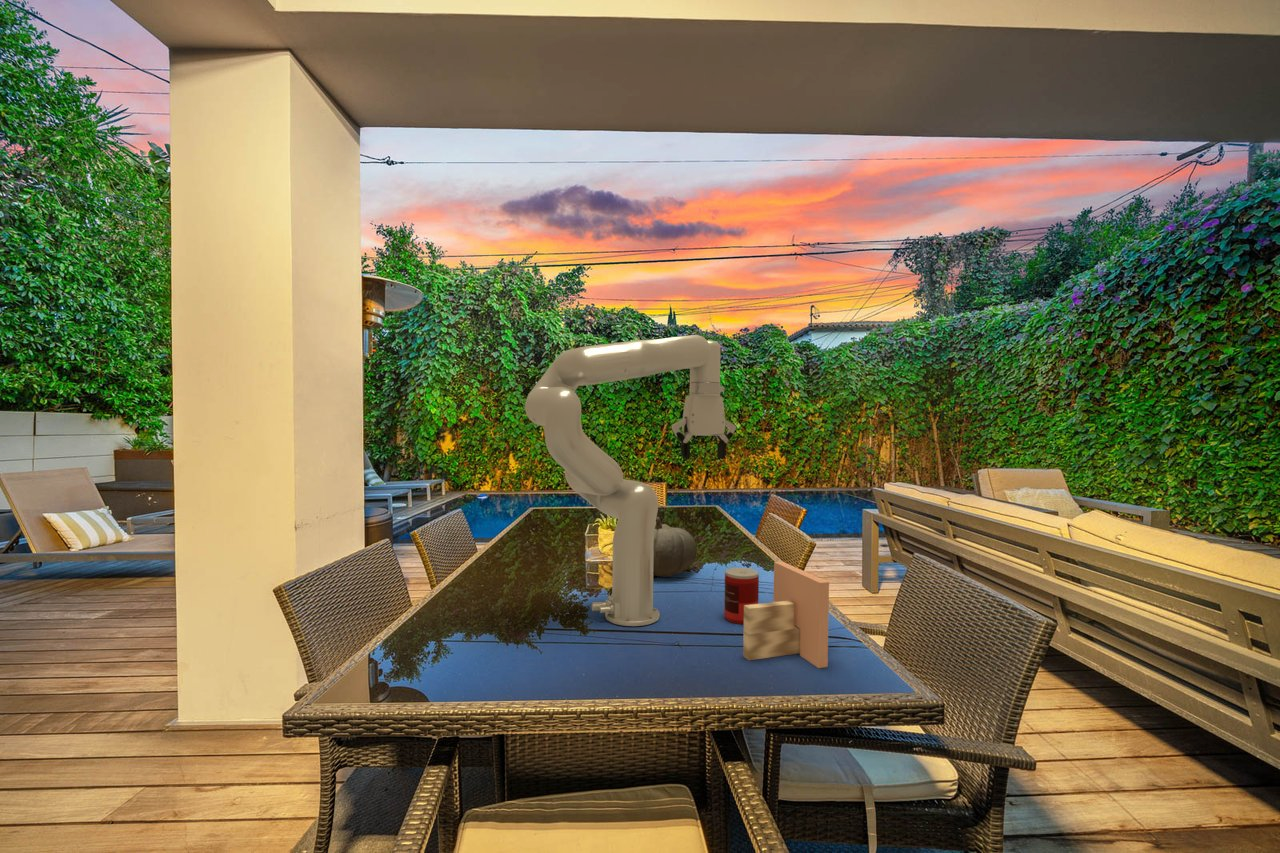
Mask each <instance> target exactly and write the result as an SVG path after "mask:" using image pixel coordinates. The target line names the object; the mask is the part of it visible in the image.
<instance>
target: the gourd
mask: <svg viewBox="0 0 1280 853" xmlns="http://www.w3.org/2000/svg"><path fill="white" fill-rule="evenodd" d="M697 552H698V546H697V543H696V541H695V539H694V537H693V535H692V534H691V533H690V532H689V531H687V530H686V529H684V528H680V527H671V526H670V525H668V524H666V523H664V524H663V523H662V521H661V519H660V517H659V516H657V517H656V522H655V529H654V559H653V576H655V577H662V578H663V577H665V578H666V577H667V578H668V577H670V576H676V575H678V574H680V573H683V572H685V571H686V570H689V568H690V567H691V566H692V565H693V564H694V562H695V561H696V558H697V556H698V555H697V554H698V553H697Z"/></svg>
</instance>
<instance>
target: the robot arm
mask: <svg viewBox="0 0 1280 853" xmlns="http://www.w3.org/2000/svg"><path fill="white" fill-rule="evenodd" d="M684 369H687V370H688V369H689V395H686V396H685V401H684V407H683V413H682V419H680V420H678V421H677V422H675V423H674V424H671V430H672V432H673V434H674V437H675V438H676V439H677V440H678V441H679V443H681V444H680V455H681V457H682V459H683V460H690V459H691V443H690V442H689V441H690V440H691V438H693V436H704V437H705V436H707V437H710V436H715V437H716V439H717V440H718V442H717V443H716V444H717V446H716V449H717V451H716V452H717V453H716V454H717V455H716V458H717V459H720V460H726V455H727V444H728V443H729V441H730V439H732V437H733V436H734V433H735V431H736V429H737V426H736V425H735V424H734V423H732V422H730V421H729V420H727V419H726V416H725V415H726V414H725V412H726V411H725V405H724V400H723V395H721V393H724V392H725V390H726V389H725V386H722V385H721V345H720V343H719V342H718V341H715V340H707V339H706V338H705V337H704V336H702V335H699V334H690V335H682V336H681V335H680V336H673V337H665V338H656V339H639V340H638V339H637V340H630V341H629V340H628V341H621V342H612V343H605V344H604V343H603V344H594V345H587V346H580V347H577V348H572V349H567V350H565V351H562V352H561V353H560V354H558V356H557V357H556V358H555V360H553V362H552V363H551V364H550V365H549V366H548V368H547V369H546V371H545V372H544V373H543V375H542V376H541V377H540V379H539V380H538V381H537V383H536V384H535V386H534V387H533V388H532V390H531V391H530V392H529V394H528V395H527V398H526V400H525V403H524V410H525V415H526V417H527V418H528V420H529V421H531V422H532V423H533V424H535V425H537V426H541V427H543V428H544V429H543V430H544V431H543V432H544V439H545V445H546V449H547V451H548V453H549V455H550V456H551V458H552V459H553V460H554V461H555V462H556V463H557V464H558V465H559V466H560V467H561V468H563V470H564V478H565V480H566V483H567V484H568V486H569V487H570V488H571V489H572V490H573V491H574V492H575V493H576V494H577V495H579V496H580V497H581V498H583V499H584V500H585V501H587V502H588V503H589V504H590V505H592V506H593V507H594V508H596V509H597V510H598V511H600V512H601V513H602V514H605V515H606V516H608V517H611V518H614V519H617V523H616V524H615V525H616V526H615V528H614V532H613V537H612V574H611V575H612V579H611V580H612V585H611V589H612V591H611V592H612V593H611V595H609V596H608V599H606V600H604V601H601V602H600V601H596V602H595V601H594V602H591V611H592V612H598V611H599V613H600V614H604V616H605V619H606V621H608V622H609V623H612V624H614V625H619V626H625V627H640V626H641V627H642V626H648V625H652V624H654V623H656V622H657V621H658V620H659V619H660V611H659V610H658V608H656V607H654V575H653V559H654V529H655V522H656V520H657V519H656V518H657V517H658V511H659V498H658V494H657V492H656V491H655V490H654V489H653V487H651V486H650V485H649V484H646V483H644V482H642V481H638V480H632V479H625V478H624V474H623V471H622V470H623V469H622V468H621V467H620V465H619V464H618V462H617V461H616V460H614V458H613V457H611V456H610V455H608V454H607V453H606V452H605V451H604V450H603V449H601V448H600V447H599V446H598V445H597V444H596V443H594V442H593V440H591V439H590V437H588V436H587V435H586V433H585V432H584V431H583V428H582V404H581V403H582V402H581V400H580V398H579V396H578V395H577V393H576V392H575V391H576V390H577V389H578V387H580V386H582V387H583V386H590V385H591V386H592V385H598V384H604V383H611V382H617V381H623V380H624V381H625V380H630V379H636V378H642V377H643V378H644V377H649V376H653V375H656V374H662V373H666V372H667V373H668V372H673V371H674V372H675V371H679V370H680V371H681V370H684ZM681 427H682V428H681ZM680 428H681V430H682V432H681V431H680ZM726 428H727V432H725V430H726Z"/></svg>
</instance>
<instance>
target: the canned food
mask: <svg viewBox="0 0 1280 853" xmlns="http://www.w3.org/2000/svg"><path fill="white" fill-rule="evenodd" d="M759 578H760V574H759V571H758V570H756V569H755V568H754V569H753V568H749V567H743V566H742V567H737V566H736V567H731V568H728V569H726V570H725V572H724V617H725V619H726V620H727V621H728V622H730V623H733V624H737V625H744V605H752V604H759V591H760V590H759V588H760V587H759V586H760V584H759V582H760V579H759Z"/></svg>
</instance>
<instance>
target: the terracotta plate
mask: <svg viewBox="0 0 1280 853" xmlns="http://www.w3.org/2000/svg"><path fill="white" fill-rule="evenodd" d="M772 597H773V600H772V602H781V601H790V602H792V603H793V604H794V625H795V626H797V627H798V628H800V653H799V656H800V657H801V658H803V659H804V660H806V661H807V662H808V663H810V664H811V665H812V666H815V667H816V668H817V669H823V668H828V667H829V666H828V663H829V658H828V656H829V653H828V652H829V617H830V616H829V614H830V613H829V606H830V605H829V603H830V600H829V599H830V582H829V581H828V580H826V579H823V578H821V577H820V576H819V577H818V576H816V575H814V574H811V573H810V572H807V571H805V570H802V569H800V568H799V567H798V568H797V567H796V566H793V565H791V564H789V563H787V562H784V561H774V562H773V596H772Z"/></svg>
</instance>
